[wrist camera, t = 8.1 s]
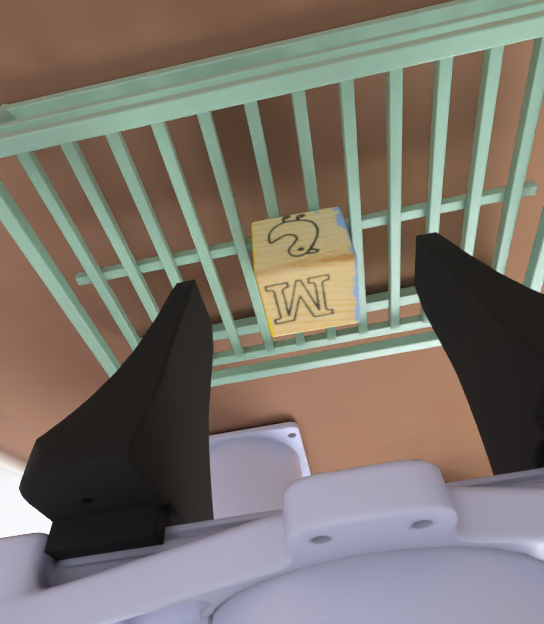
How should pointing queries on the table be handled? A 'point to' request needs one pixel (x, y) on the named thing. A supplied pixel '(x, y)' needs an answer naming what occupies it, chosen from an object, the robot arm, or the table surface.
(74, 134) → the rack
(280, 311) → the alphabet block
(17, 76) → the table surface
